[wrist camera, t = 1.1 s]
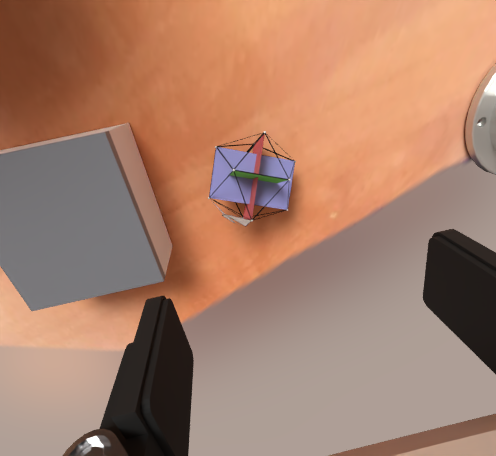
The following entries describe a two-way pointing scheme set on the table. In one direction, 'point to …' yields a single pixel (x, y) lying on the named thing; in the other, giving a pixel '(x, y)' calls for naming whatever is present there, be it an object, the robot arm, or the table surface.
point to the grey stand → (79, 218)
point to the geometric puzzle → (251, 179)
